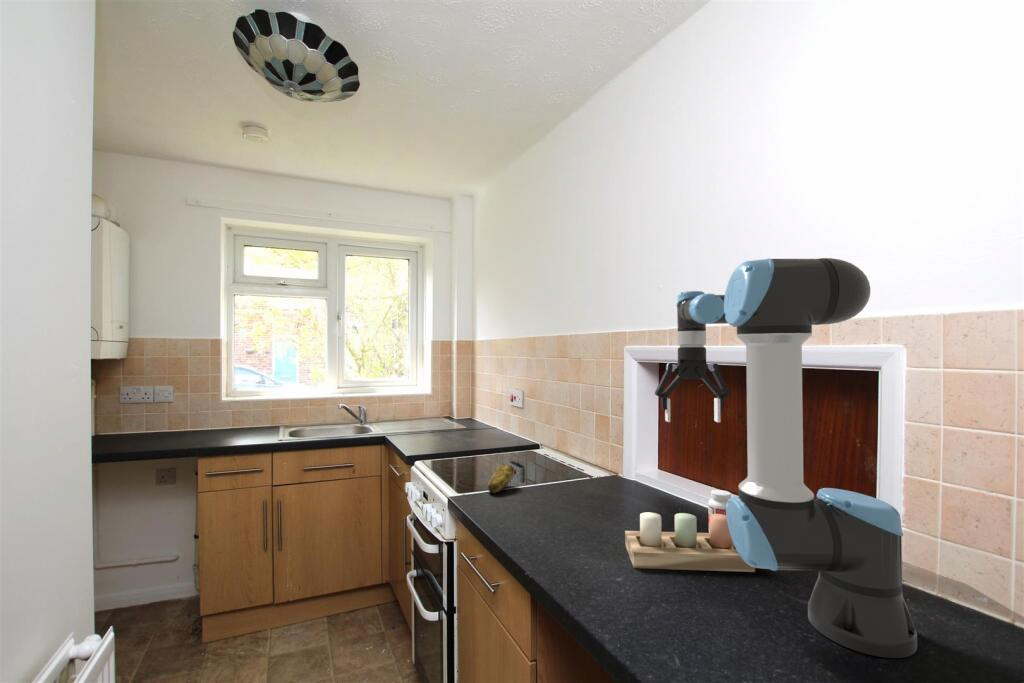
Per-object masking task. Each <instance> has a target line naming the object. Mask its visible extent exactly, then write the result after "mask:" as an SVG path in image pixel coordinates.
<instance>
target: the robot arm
mask: <svg viewBox="0 0 1024 683" xmlns="http://www.w3.org/2000/svg"><path fill="white" fill-rule="evenodd" d="M870 297H871V284H870V281H869V279H868V277H867V275H866V273H864V271H863V270H861V269H860V267H858V266H856V265H855V264H853V263H851V262H849V261H846V260H843V259H838V258H834V257H833V258H832V257H831V258H830V257H822V258H764V259H763V258H762V259H756V260H747V261H744V262H741V264H739V265H738V266H737V267H735V269H734V271H733V272H732V273H731V275H730V278H729V280H728V282H727V285H726V289H725V294H714V293H705V292H703V291H700V290H699V291H698V290H689V291H681V292H679V293H678V294H677V299H676V300H677V302H676V310H677V312H676V315H677V345H678V346H679V347H678V348H677V364H675V363H674V364H672V363H666V365H665V372H664V374H663V375H662V378H661V380H660V382H659V384H658V386H657V387H656V389H655V392H654V395H655V396H657V397H660V398H661V409H662V410H663V411H664V419H665V422H667V423H671V398H669V397H670V395H671V394H672V393H673V392H674V391H675V389H676V388H677V387H678V386H679V385H680V383H681V382H683V381H684V380H685V379H686V380H702V381H703V382H704V384H705V385H706V386H707V387H708V388H709V390H710V391H711V392H713V394H714V395H715V396H716V397H714V399H713V402H714V403H713V411H714V412H713V415H714V416H713V417H714V418H713V420H714V422H716V423H721V419H722V418H721V411H724V409H725V406H724V404H725V403H724V402H725V401H724V400H725V399H726V398H728V397H731V396H732V393H731V391H730V389H729V387H728V384H726V381H725V379H724V378H723V376H722V374H721V372H720V368H719V364H718V363H715V362H713V363H711V364H709V363H707V348H706V347H705V346H706V345H707V332H706V330H707V325H716V324H719V325H721V324H722V325H724V324H728V325H729V326H732V327H733V328H736V337H737V338H738V339H739V340H741V342H742V343H744V345H745V347H746V348H745V350H746V352H745V353H746V354H745V360H746V427H747V428H746V430H747V432H746V433H747V434H746V435H747V436H746V438H747V439H746V440H747V441H746V442H747V443H746V444H747V446H746V447H747V448H746V450H747V451H746V452H747V476H746V478H745V479H744V480H742V481H741V482H740V483H738V497H737V496H733V497H731V498H730V499H729V500H728V501H727V505H726V516H727V523H728V527H729V531H730V535H731V538H732V541H733V543H734V546H735V548H736V550H737V552H738V554H739V555H740V557H741V558H742V559H743V560H744V562H746V563H747V564H748V565H749V566H751V567H754V568H755V569H764V570H765V569H766V570H771V571H772V572H773V571H775V572H776V571H779V570H780V571H816V572H817V571H818V575H817V576H818V577H817V579H816V582H815V585H814V587H813V589H812V592H811V595H810V598H809V599H808V602H807V618H808V621H809V622H810V624H811V625H812V626H813V627H814V629H815V630H817V631H818V632H819V633H820V634H821V635H823V636H825V637H826V638H828V639H830V640H831V641H833V642H834V643H836V644H838V645H841V646H842V647H845V648H848V649H850V650H853V651H854V652H855V651H856V652H859V653H862V654H866V655H870V656H874V657H878V658H879V657H880V658H886V659H902V658H908V657H910V656H913V655H914V654H915V653H916V652H917V650H918V634H917V630H916V627H915V623H914V622H913V619H912V617H911V614H910V612H909V609H908V606H907V603H906V600H905V599H904V596H903V594H904V593H903V543H902V542H903V540H902V538H903V536H904V533H903V527H902V520H901V519H902V518H901V515H900V513H899V511H898V509H897V508H895V507H894V506H893V505H891V504H890V503H888V502H885V501H883V500H882V499H879V498H876V497H873V496H870V495H866V494H863V493H859V492H856V491H851V490H845V489H839V488H834V487H833V488H832V487H823V488H820V489H818V491H817V493H816V499H815V494H814V492H813V491H812V490H811V489H810V488H809V487H808V486H807V485H806V484H805V483H804V429H803V428H804V426H803V425H804V424H803V422H804V418H803V414H804V413H803V354H802V352H803V350H802V348H803V344H804V343H805V342H806V341H807V340H808V339H810V338H811V336H813V328H812V327H813V326H814V325H815V326H819V325H833V324H839V323H841V322H846V321H848V320H850V319H852V318H854V317H855V316H857V315H858V314H860V313H861V312H862V311H863V310H864V309H865V308H866V306H867V305H868V302H869V300H870ZM708 369H709V370H708ZM675 370H677V372H678V374H677V375H676V376H675V377H674V379H673V380H672V382H671V383H670V384H669V385H668V386H667V383H668V381H669V380H670V377H671V375H672V373H673V372H675ZM707 371H710V372H711V373H712V375H713V378H714V379H715V381H716V383H717V385H718V387H719V388H718V387H717V386H716V384H714V382H713V381H712V380H711V379H710V377H709V376H708V375H707V374H706V372H707ZM666 386H667V387H666ZM665 388H666V389H665ZM664 389H665V390H664ZM720 390H721V391H720Z"/></svg>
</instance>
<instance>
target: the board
mask: <svg viewBox="0 0 1024 683" xmlns="http://www.w3.org/2000/svg"><path fill="white" fill-rule="evenodd" d="M624 536H625V538H624V541H625V542H624V543H625V544H624V545H625V548H626V550H627V554H628V556H629V560H630V561H631V565H632V566H633V568H634V569H654V570H681V571H682V570H683V571H686V570H688V571H711V572H712V571H717V572H744V573H745V572H747V573H755V572H756V568H754V567H751V566H749V565H748V564H747V563H746V562H744V560H743V559H742V558H741V557H740V555H739V554H738V552H737V550H736V548H735V546H734V543H733V546H732V547H730V548H720V547H716V546H714V545H712V544H711V543H710V533H709V532H697V545H696V546H694V547H684V546H680V545H678V544H676V543H675V531H661V540H662V543H661V544H660V545H658V546H649V545H645V544H643V543H641V541H640V530H624Z"/></svg>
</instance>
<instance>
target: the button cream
mask: <svg viewBox="0 0 1024 683" xmlns="http://www.w3.org/2000/svg"><path fill="white" fill-rule="evenodd" d="M639 531H640V541H641V543H643V544H645V545H649V546H658V545H660V544H661V543H662V540H661V532H662V516H661V515H660V514H659V513H657V512H650V511H649V512H642V513H641V512H640V514H639Z"/></svg>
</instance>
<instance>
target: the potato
mask: <svg viewBox="0 0 1024 683" xmlns="http://www.w3.org/2000/svg"><path fill="white" fill-rule="evenodd" d="M514 476H515V469H514V467H513V466H512V465H509V464H501V465H499V466H498V467H497V468H496V470H495V471H494V473H493V474H492V476H491V478H490V479H489V481H488V482H487V490H488V492H489V493H491V492H492V493H491V494H493V493H494V494H497V493H499V492H500V491H502V490H504V488H506V487H507V486H508V485H509V484H510V482H511V481H513V479H514ZM496 492H497V493H496Z"/></svg>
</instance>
